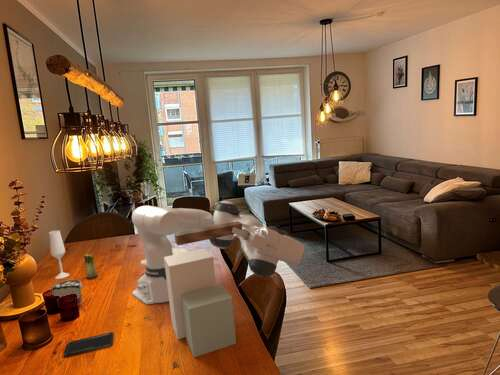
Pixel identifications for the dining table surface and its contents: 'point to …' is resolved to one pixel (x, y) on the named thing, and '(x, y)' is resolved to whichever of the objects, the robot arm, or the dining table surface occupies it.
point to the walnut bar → (206, 233)
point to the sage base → (208, 320)
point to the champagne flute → (57, 250)
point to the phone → (89, 344)
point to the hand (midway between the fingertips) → (229, 227)
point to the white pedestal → (187, 281)
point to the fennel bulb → (90, 266)
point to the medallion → (175, 251)
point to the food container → (68, 289)
